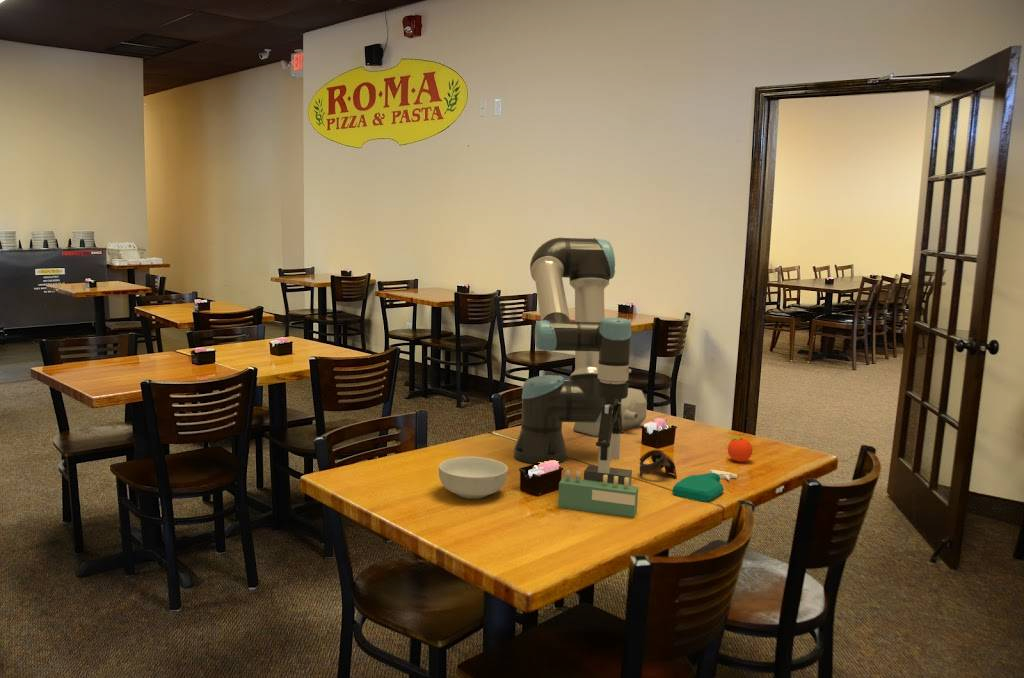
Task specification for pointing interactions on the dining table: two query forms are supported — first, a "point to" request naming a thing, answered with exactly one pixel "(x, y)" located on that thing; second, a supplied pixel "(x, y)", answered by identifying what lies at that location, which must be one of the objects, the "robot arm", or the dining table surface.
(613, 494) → the board
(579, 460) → the dining table surface
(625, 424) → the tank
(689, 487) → the spray bottle
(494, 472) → the cereal bowl
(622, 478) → the block
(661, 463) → the brown arched frame
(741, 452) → the tomato
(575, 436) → the dining table surface
